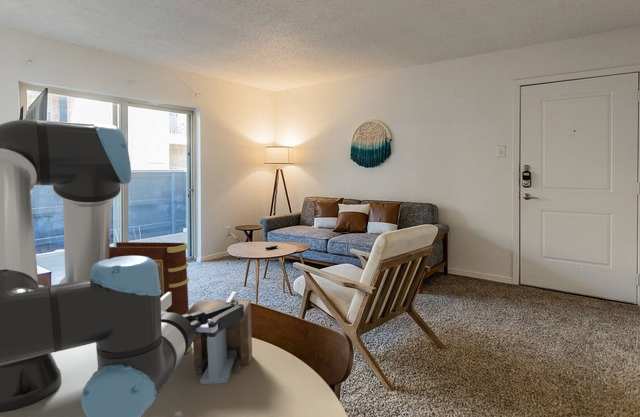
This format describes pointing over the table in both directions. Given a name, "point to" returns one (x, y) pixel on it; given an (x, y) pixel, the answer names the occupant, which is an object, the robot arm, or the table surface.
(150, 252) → the decorative book
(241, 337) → the cubby
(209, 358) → the bookend
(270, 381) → the table surface
